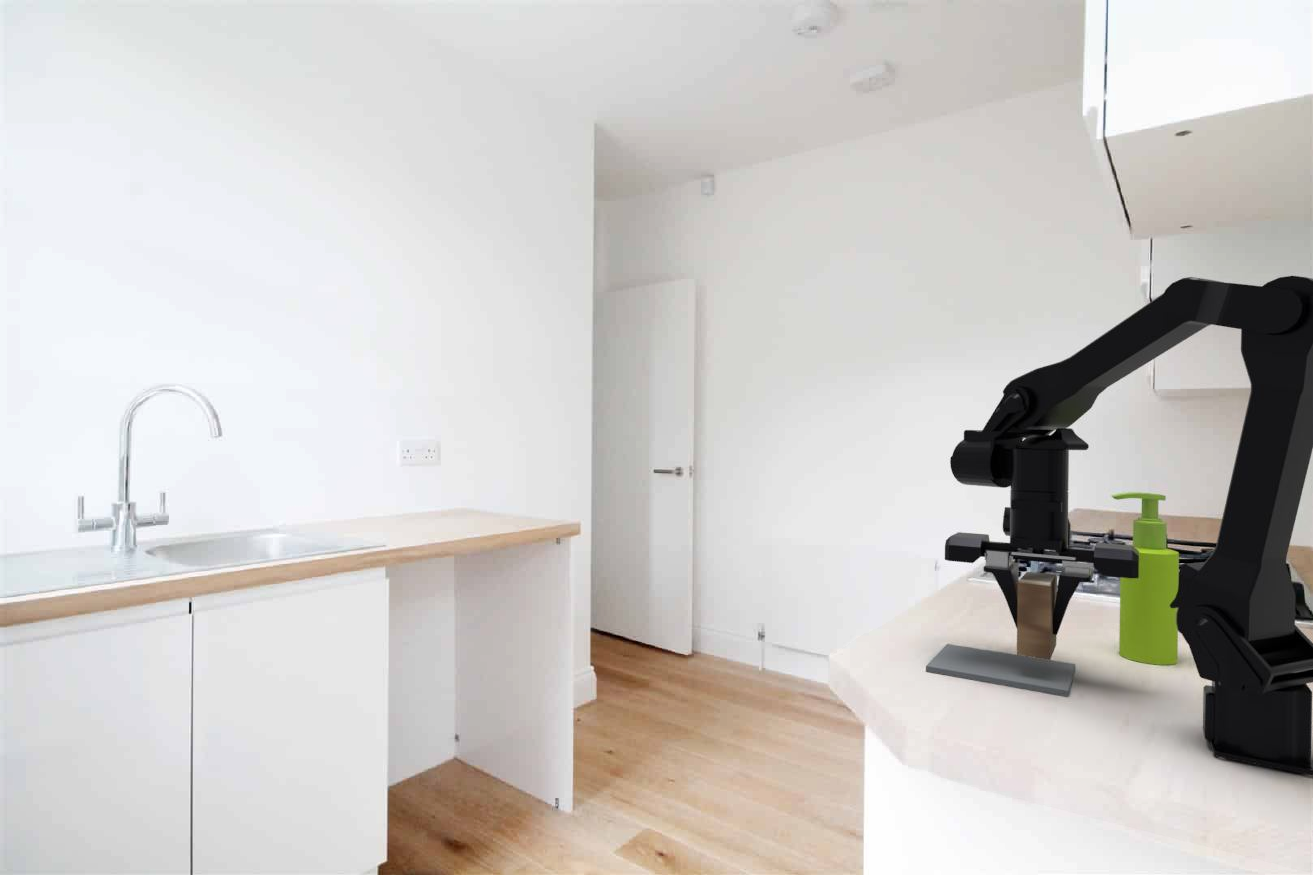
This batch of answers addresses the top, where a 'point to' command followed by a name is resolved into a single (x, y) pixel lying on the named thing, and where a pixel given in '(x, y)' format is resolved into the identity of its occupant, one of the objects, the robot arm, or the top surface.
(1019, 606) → the walnut slab
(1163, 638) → the soap dispenser
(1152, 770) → the top surface
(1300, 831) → the top surface
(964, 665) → the mat
